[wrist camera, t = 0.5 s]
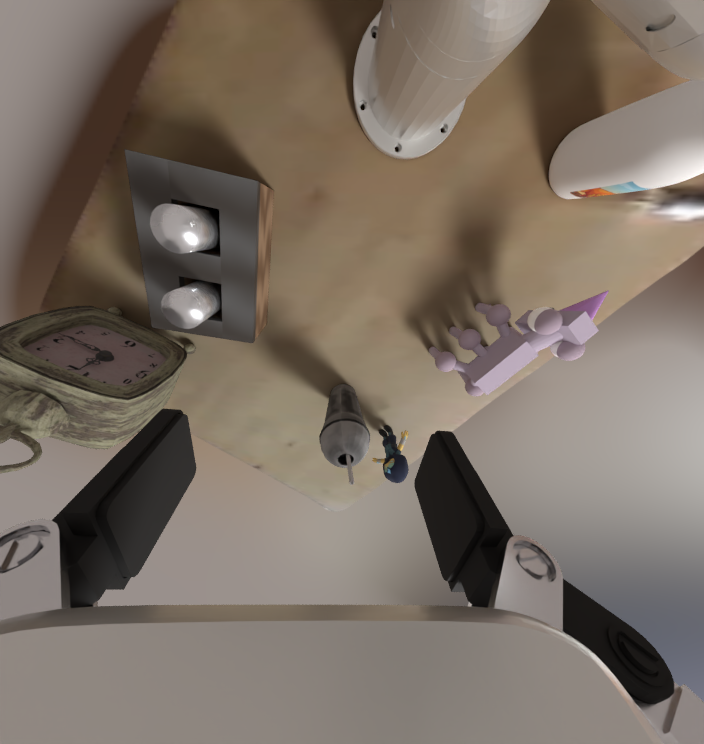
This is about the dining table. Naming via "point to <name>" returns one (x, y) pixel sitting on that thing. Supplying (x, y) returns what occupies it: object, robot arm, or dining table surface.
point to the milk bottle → (634, 146)
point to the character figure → (393, 456)
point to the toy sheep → (519, 342)
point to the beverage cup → (344, 430)
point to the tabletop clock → (82, 378)
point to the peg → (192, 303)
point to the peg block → (219, 265)
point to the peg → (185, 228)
